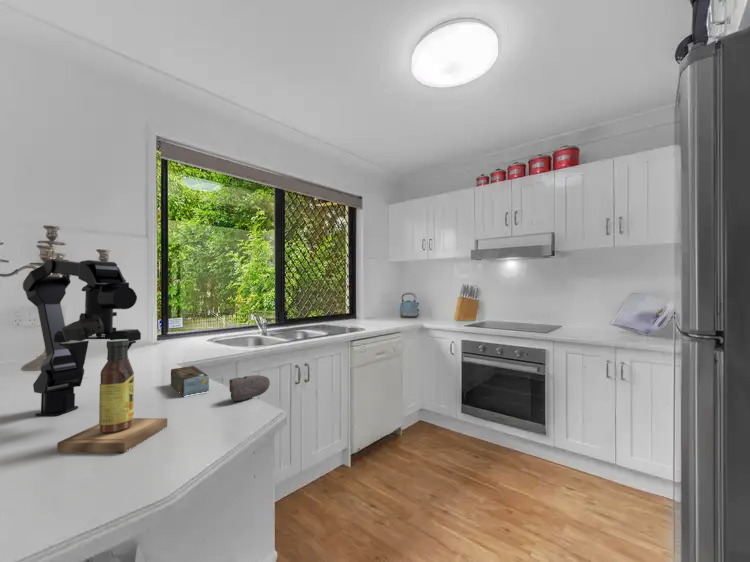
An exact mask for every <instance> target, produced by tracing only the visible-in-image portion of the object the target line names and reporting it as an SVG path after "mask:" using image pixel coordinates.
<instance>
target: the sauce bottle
mask: <svg viewBox="0 0 750 562" xmlns="http://www.w3.org/2000/svg"><path fill="white" fill-rule="evenodd" d="M128 345H129V340H128V339H118V340H110V339H108V340H107V341H106V349H107V357H106V360H107V361H106V363H105V364H104V366H103V367H102V369H101V371H100V375H99V376H100V384H99V404H98V405H99V411H98V413H99V417H98V418H99V420H98V424H99V425H100V431H101V432H104V433H112V432H117V431H121V430H125V429H127V428H129V427H130V426H131V425H132V423H133V418H135V416H134V410H135V409H134V408H135V407H134V404H135V403H134V402H135V371H134V370H133V367H132V365H131V362H130V359H129V353H128V351H129V349H128Z"/></svg>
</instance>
